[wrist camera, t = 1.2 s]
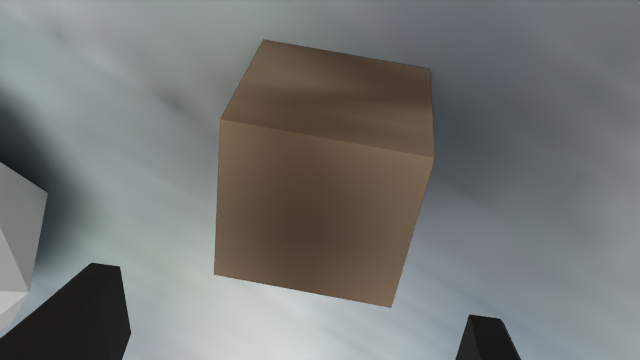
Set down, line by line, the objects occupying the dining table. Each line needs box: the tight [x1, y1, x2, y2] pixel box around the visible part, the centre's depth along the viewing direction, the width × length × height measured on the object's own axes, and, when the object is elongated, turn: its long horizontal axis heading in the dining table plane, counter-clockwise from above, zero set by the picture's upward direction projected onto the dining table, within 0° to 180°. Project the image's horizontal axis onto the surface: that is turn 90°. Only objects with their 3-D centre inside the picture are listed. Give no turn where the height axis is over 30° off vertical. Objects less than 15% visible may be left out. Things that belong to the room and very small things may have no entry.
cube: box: [214, 39, 435, 308], centre depth 17 cm, size 5×5×5 cm
